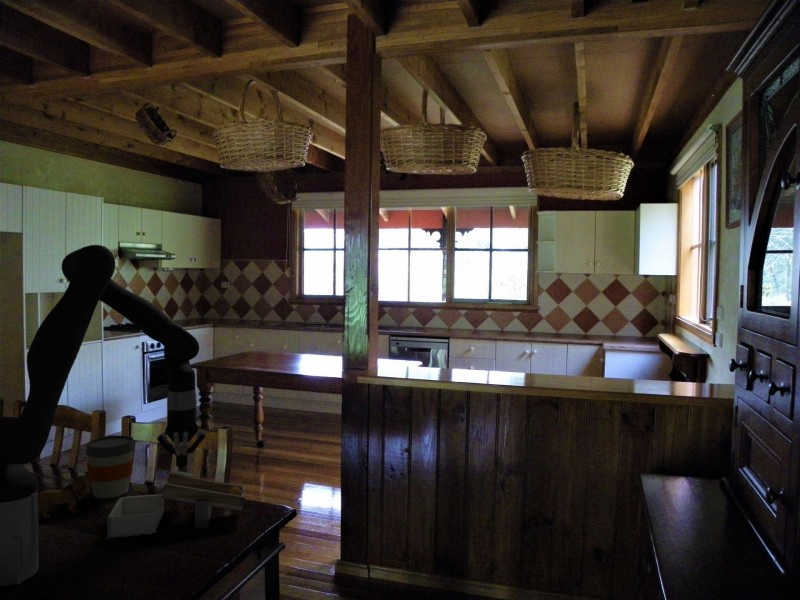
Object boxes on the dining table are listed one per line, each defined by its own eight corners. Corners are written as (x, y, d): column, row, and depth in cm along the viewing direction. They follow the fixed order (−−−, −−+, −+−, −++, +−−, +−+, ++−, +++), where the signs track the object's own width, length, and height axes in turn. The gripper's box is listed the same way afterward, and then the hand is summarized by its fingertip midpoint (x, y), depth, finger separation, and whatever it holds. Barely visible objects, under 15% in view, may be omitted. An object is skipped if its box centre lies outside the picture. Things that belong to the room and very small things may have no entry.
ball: (239, 502, 144) (242, 490, 144) (226, 500, 143) (230, 488, 143) (239, 497, 147) (243, 486, 147) (227, 495, 146) (231, 484, 146)
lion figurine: (88, 503, 152) (88, 471, 151) (92, 509, 148) (92, 476, 147) (24, 517, 142) (24, 483, 142) (27, 524, 138) (26, 489, 138)
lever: (241, 513, 141) (245, 498, 141) (160, 500, 136) (164, 485, 136) (243, 488, 158) (247, 474, 158) (171, 475, 153) (175, 462, 153)
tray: (154, 533, 134) (154, 513, 134) (107, 538, 132) (107, 517, 132) (163, 512, 147) (163, 493, 147) (120, 515, 144) (120, 497, 144)
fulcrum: (207, 528, 138) (207, 500, 138) (194, 529, 137) (195, 501, 137) (211, 509, 149) (211, 484, 149) (200, 510, 148) (200, 484, 148)
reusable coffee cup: (90, 487, 163) (89, 437, 163) (136, 482, 168) (136, 433, 167) (82, 503, 152) (81, 449, 151) (132, 497, 156) (132, 445, 155)
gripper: (153, 410, 146) (153, 474, 147) (205, 408, 149) (205, 470, 150) (158, 403, 153) (158, 464, 154) (208, 401, 156) (208, 461, 157)
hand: (181, 467), depth 152 cm, fingers closed
